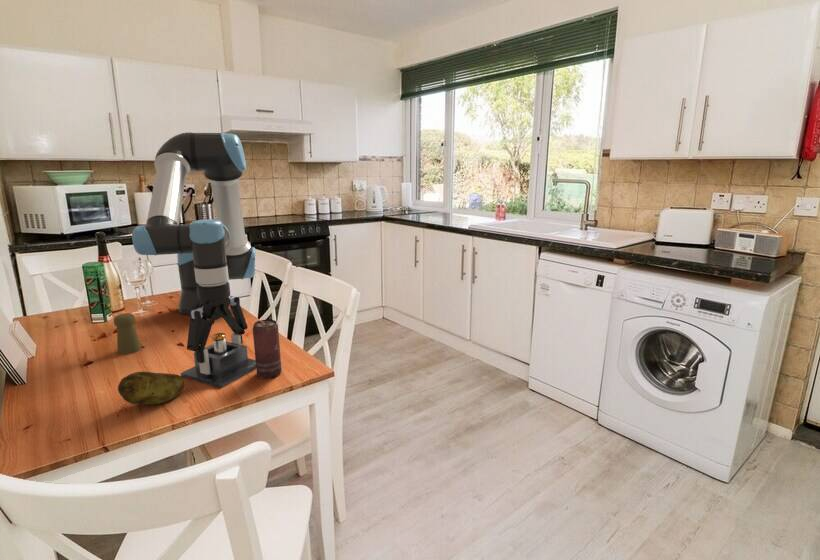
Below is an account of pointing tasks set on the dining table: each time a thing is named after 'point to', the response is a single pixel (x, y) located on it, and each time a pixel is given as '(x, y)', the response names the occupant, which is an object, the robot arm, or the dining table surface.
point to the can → (267, 348)
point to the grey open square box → (225, 359)
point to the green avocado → (150, 387)
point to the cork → (126, 334)
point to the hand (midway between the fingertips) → (222, 364)
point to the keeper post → (192, 374)
